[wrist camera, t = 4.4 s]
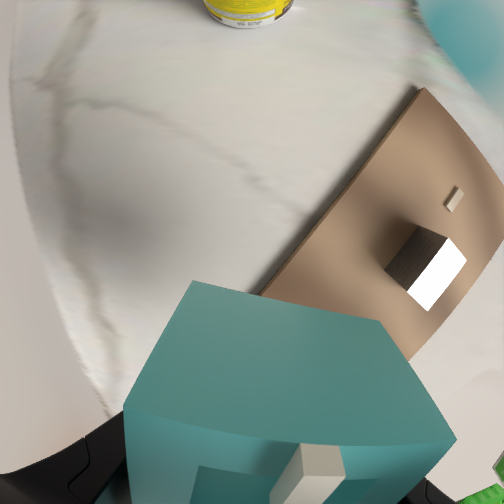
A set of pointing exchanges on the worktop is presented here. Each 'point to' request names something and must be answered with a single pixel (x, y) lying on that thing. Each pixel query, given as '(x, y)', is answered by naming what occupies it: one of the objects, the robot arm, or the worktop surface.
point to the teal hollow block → (277, 408)
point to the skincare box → (500, 468)
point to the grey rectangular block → (425, 265)
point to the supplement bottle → (247, 11)
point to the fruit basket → (486, 496)
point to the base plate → (399, 226)
